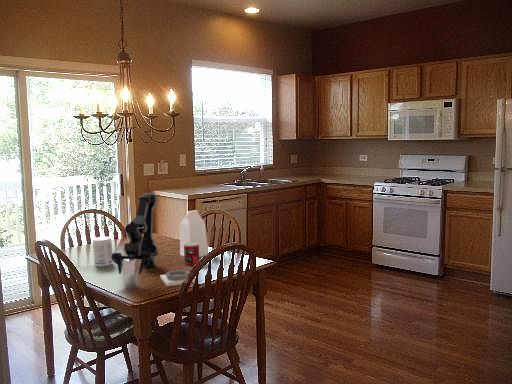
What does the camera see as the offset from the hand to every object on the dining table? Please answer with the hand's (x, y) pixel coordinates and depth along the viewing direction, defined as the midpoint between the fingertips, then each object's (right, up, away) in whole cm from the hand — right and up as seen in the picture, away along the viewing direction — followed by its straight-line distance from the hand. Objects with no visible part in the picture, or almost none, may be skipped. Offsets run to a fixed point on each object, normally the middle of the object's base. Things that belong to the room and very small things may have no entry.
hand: (129, 273), depth 215 cm
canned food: (+23, -1, +39) cm, 46 cm away
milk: (+22, +1, +57) cm, 61 cm away
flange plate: (+20, -5, +11) cm, 24 cm away
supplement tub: (-25, -2, +40) cm, 47 cm away
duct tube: (0, -6, +2) cm, 7 cm away
